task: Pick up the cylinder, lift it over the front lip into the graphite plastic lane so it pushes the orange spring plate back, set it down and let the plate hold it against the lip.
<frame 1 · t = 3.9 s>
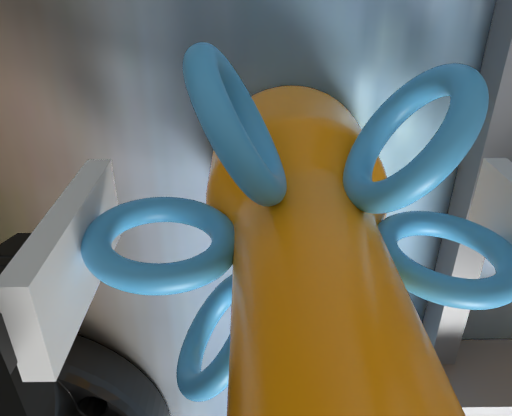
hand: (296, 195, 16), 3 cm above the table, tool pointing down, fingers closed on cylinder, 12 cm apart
cylinder: (287, 154, 19), on the table, touching gripper
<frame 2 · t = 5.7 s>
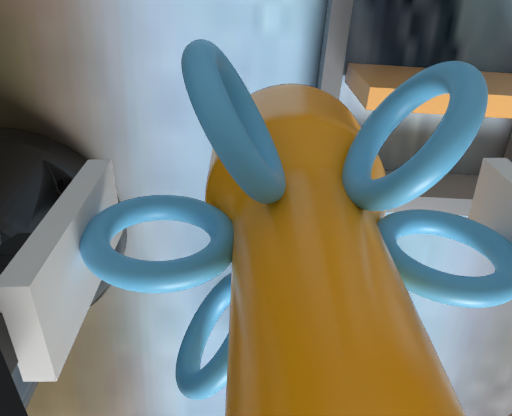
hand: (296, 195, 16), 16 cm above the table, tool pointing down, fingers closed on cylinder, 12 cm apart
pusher: (454, 90, 27), point 3 cm above the table, slide at 0.0 cm
cylinder: (287, 152, 19), point 13 cm above the table, touching gripper
lane: (435, 70, 30), on the table
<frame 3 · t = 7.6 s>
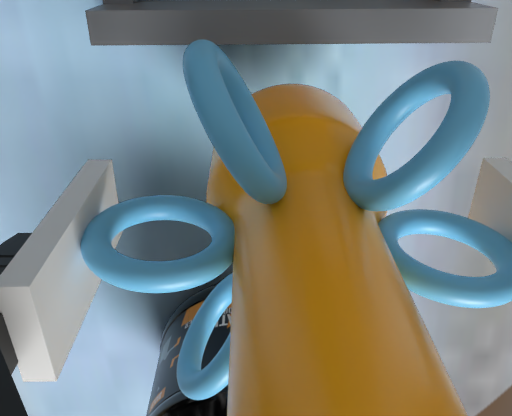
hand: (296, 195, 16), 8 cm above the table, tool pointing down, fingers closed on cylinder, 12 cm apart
cylinder: (288, 152, 19), point 5 cm above the table, touching gripper
supplement container: (246, 335, 30), on the table
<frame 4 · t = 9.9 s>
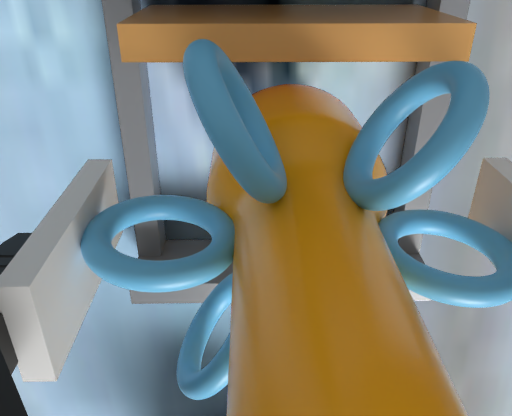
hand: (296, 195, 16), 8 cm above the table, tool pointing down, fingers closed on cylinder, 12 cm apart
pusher: (289, 29, 18), point 3 cm above the table, slide at 4.9 cm
cylinder: (288, 153, 19), point 5 cm above the table, touching gripper
lane: (281, 116, 23), on the table
when the fingers open (5 cm above the table, at t = 11.3 s): cylinder stays where it is, resting on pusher.
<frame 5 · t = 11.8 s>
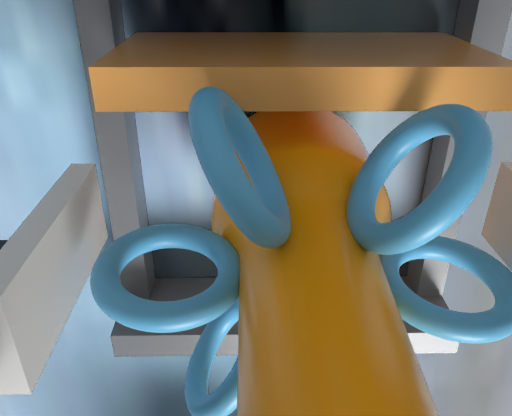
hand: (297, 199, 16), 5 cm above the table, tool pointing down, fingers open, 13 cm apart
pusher: (297, 65, 15), point 3 cm above the table, slide at 4.3 cm, touching cylinder
cylinder: (291, 167, 19), point 1 cm above the table, touching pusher
lane: (286, 143, 20), on the table
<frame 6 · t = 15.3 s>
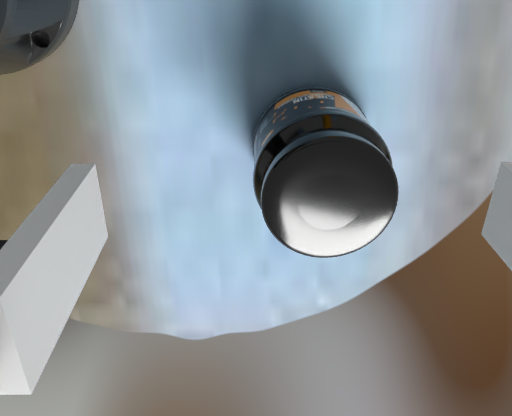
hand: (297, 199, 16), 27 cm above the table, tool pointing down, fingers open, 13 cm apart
supplement container: (309, 140, 43), on the table
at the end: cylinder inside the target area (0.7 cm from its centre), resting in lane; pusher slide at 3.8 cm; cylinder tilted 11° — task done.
